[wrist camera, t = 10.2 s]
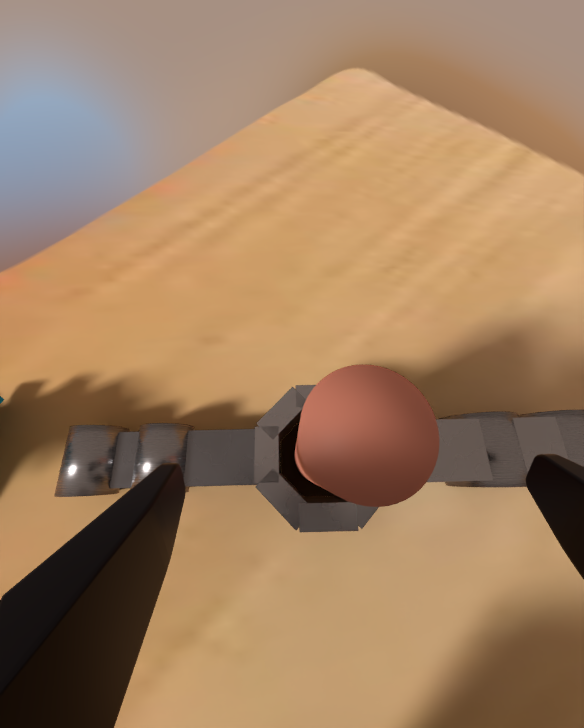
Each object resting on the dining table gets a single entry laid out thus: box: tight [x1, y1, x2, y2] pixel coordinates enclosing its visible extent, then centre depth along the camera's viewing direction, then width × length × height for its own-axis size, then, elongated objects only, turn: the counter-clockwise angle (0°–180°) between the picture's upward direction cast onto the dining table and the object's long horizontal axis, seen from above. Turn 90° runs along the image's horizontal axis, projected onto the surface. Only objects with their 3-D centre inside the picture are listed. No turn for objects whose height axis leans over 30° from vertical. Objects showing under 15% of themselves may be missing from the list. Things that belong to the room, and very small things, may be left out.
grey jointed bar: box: [54, 385, 584, 532], centre depth 17 cm, size 7×30×4 cm, turn 92°
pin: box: [294, 365, 439, 507], centre depth 13 cm, size 3×3×13 cm
